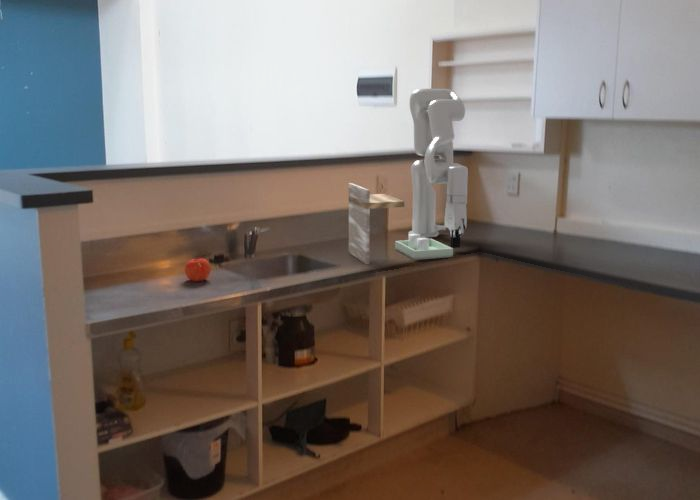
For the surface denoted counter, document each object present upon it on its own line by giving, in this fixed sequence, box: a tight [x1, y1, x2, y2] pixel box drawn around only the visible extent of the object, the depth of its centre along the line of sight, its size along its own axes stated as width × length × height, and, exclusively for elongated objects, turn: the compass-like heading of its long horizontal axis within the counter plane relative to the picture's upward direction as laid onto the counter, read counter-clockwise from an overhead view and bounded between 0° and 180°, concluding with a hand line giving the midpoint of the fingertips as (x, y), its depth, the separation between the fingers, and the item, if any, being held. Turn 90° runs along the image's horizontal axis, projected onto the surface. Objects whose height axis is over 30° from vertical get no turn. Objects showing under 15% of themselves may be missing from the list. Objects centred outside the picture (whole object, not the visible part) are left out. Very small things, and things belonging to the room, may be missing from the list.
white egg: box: [417, 238, 430, 251], centre depth 259 cm, size 4×4×6 cm
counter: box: [348, 182, 405, 265], centre depth 256 cm, size 14×20×26 cm
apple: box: [184, 255, 212, 282], centre depth 226 cm, size 8×8×8 cm
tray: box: [394, 238, 454, 261], centre depth 264 cm, size 15×19×3 cm
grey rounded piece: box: [408, 233, 420, 250], centre depth 267 cm, size 4×4×6 cm
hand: (455, 247), depth 268 cm, fingers closed
